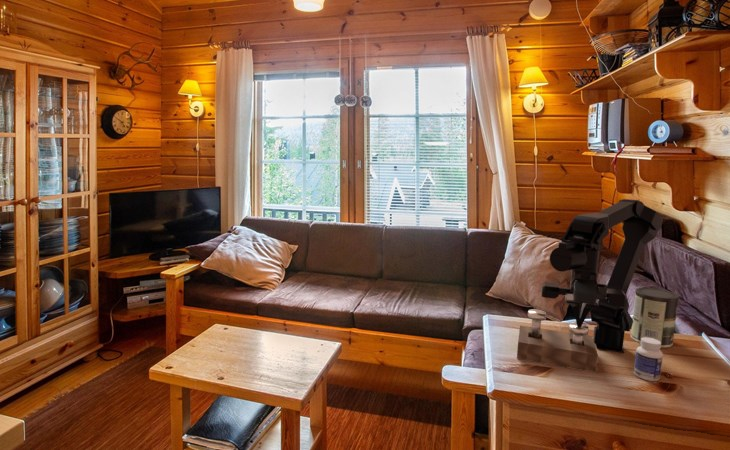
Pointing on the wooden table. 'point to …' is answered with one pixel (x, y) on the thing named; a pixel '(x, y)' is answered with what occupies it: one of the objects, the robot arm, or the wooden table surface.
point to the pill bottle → (648, 359)
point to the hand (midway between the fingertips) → (578, 326)
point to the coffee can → (654, 315)
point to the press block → (557, 349)
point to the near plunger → (578, 333)
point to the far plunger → (536, 320)
